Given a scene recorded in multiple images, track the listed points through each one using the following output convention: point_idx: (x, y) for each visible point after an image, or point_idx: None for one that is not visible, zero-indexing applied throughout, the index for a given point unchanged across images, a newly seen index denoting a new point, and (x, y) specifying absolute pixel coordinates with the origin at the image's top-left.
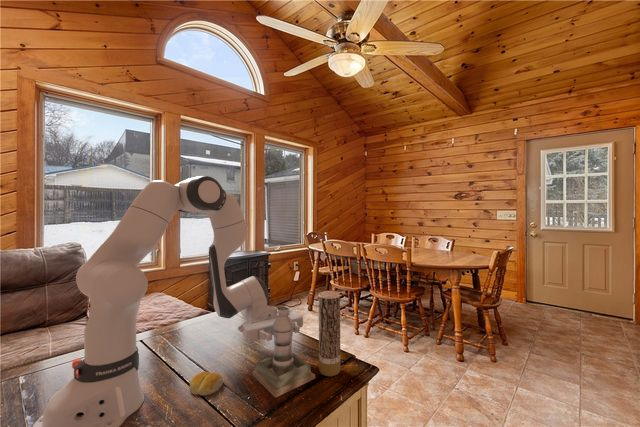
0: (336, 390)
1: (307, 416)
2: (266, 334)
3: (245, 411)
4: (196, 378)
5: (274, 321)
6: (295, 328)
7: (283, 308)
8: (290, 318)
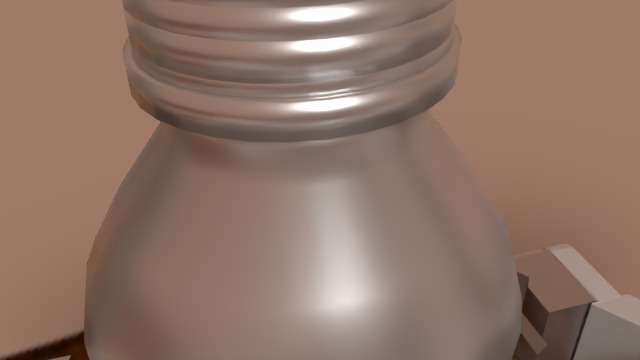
0: (54, 356)
1: None
2: (594, 271)
3: None
4: None
5: (493, 218)
6: (73, 356)
7: (225, 4)
8: (142, 151)
